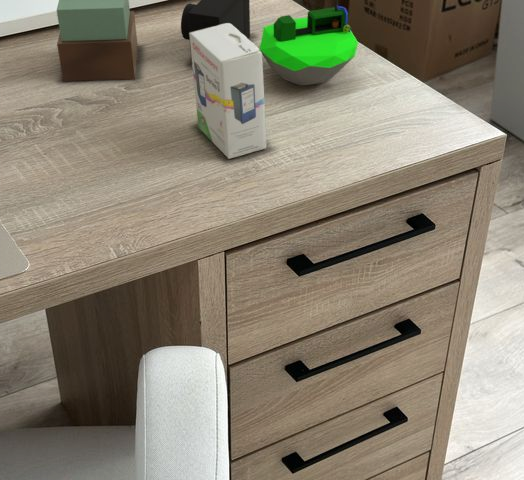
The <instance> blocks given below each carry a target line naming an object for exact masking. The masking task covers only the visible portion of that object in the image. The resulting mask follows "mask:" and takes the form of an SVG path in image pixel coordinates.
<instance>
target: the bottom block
mask: <svg viewBox="0 0 524 480" xmlns="http://www.w3.org/2000/svg"><path fill="white" fill-rule="evenodd" d="M56 47H57V51H58V52H57V53H58V59H59V64H60V70H61V76H62V77H61V78H62V82H86V81H114V80H115V81H116V80H117V81H118V80H135V79H136V73H137V62H138V61H137V60H138V52H139V51H138V50H139V45H138V36H137V25H136V17H135V10H130V16H129V25H128V34H127V39H118V40H88V41H61V35H60V33H59V35H58V38H57V43H56Z"/></svg>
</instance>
